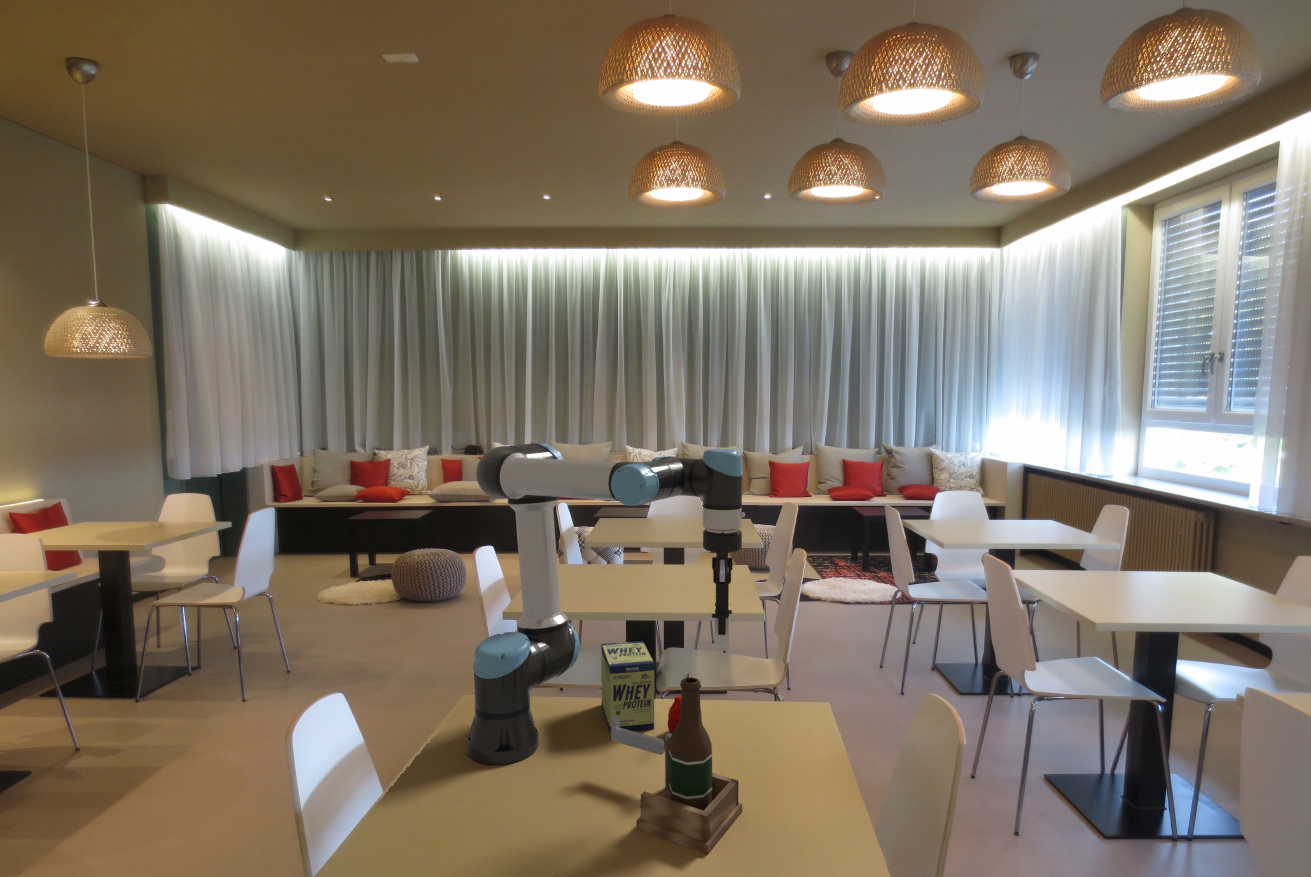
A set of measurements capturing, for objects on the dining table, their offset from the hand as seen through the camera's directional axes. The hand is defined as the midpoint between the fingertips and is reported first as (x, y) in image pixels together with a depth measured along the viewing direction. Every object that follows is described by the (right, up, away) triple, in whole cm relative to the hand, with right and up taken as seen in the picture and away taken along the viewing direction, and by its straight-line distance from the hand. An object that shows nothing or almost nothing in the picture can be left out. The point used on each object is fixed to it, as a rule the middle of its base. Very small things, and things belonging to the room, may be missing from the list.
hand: (721, 648), depth 140 cm
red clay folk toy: (-6, -25, +20) cm, 33 cm away
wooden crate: (-7, -27, -11) cm, 30 cm away
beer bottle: (-7, -26, -12) cm, 29 cm away
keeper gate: (-17, -20, +2) cm, 26 cm away
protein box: (-20, -25, +29) cm, 43 cm away
